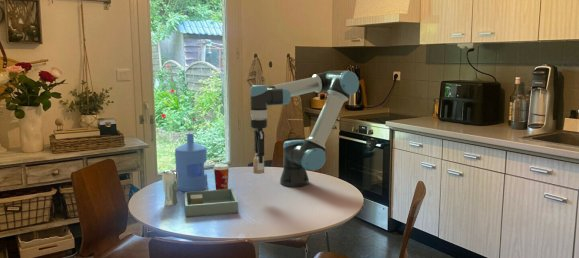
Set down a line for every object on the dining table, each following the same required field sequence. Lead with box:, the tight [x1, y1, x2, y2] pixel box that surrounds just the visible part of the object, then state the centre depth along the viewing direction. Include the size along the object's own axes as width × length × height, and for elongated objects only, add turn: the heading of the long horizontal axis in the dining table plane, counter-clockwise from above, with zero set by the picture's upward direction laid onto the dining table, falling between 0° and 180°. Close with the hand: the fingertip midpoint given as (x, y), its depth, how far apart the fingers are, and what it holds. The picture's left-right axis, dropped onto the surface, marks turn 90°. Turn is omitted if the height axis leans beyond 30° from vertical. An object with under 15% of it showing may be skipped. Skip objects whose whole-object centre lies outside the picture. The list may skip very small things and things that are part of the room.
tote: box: [184, 188, 239, 218], centre depth 198 cm, size 22×20×5 cm
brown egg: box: [252, 156, 265, 175], centre depth 208 cm, size 5×5×7 cm
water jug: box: [174, 133, 209, 193], centre depth 226 cm, size 16×16×28 cm
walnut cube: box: [191, 194, 203, 205], centre depth 196 cm, size 5×5×5 cm
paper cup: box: [212, 163, 230, 190], centre depth 218 cm, size 8×8×14 cm
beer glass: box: [161, 169, 179, 207], centre depth 202 cm, size 7×7×15 cm
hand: (259, 168), depth 209 cm, fingers closed on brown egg, 5 cm apart
